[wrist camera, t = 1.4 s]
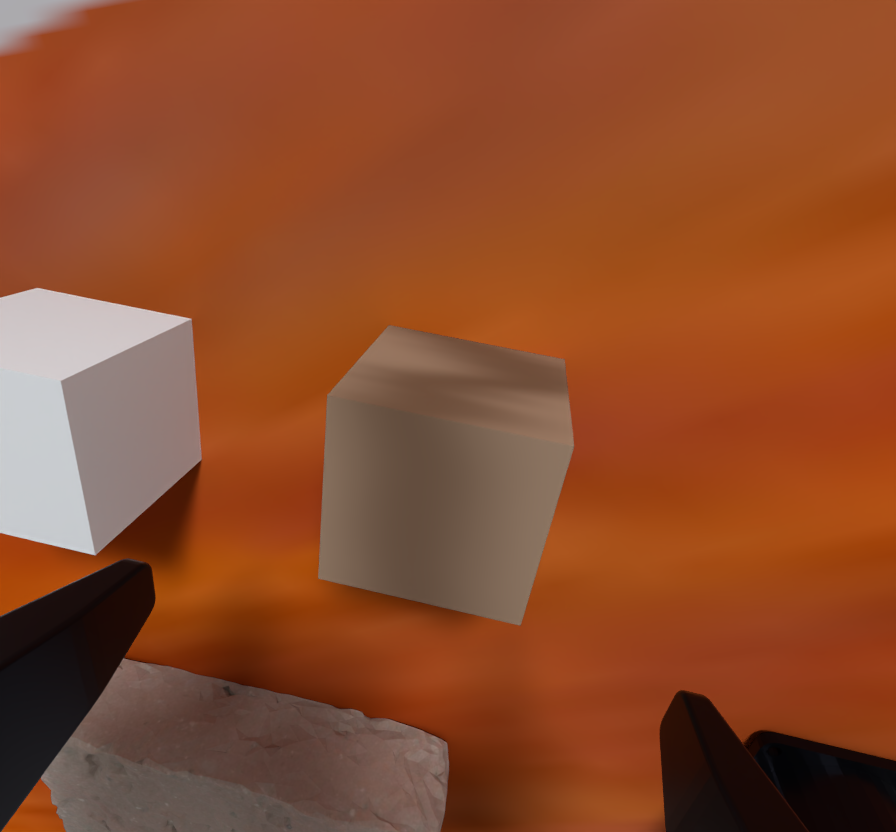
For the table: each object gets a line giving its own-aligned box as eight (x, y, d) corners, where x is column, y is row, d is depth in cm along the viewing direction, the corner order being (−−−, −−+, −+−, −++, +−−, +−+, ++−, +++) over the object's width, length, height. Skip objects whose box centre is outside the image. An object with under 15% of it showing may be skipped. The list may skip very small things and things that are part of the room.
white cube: (193, 318, 16) (60, 381, 12) (202, 458, 18) (95, 555, 14) (39, 287, 16) (-146, 336, 12) (68, 428, 19) (-80, 513, 14)
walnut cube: (564, 358, 15) (573, 446, 10) (526, 503, 17) (520, 625, 13) (389, 324, 15) (327, 395, 11) (374, 470, 18) (318, 578, 13)
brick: (123, 750, 28) (51, 855, 24) (98, 639, 24) (6, 741, 20) (434, 827, 27) (415, 951, 23) (459, 724, 23) (442, 851, 19)
